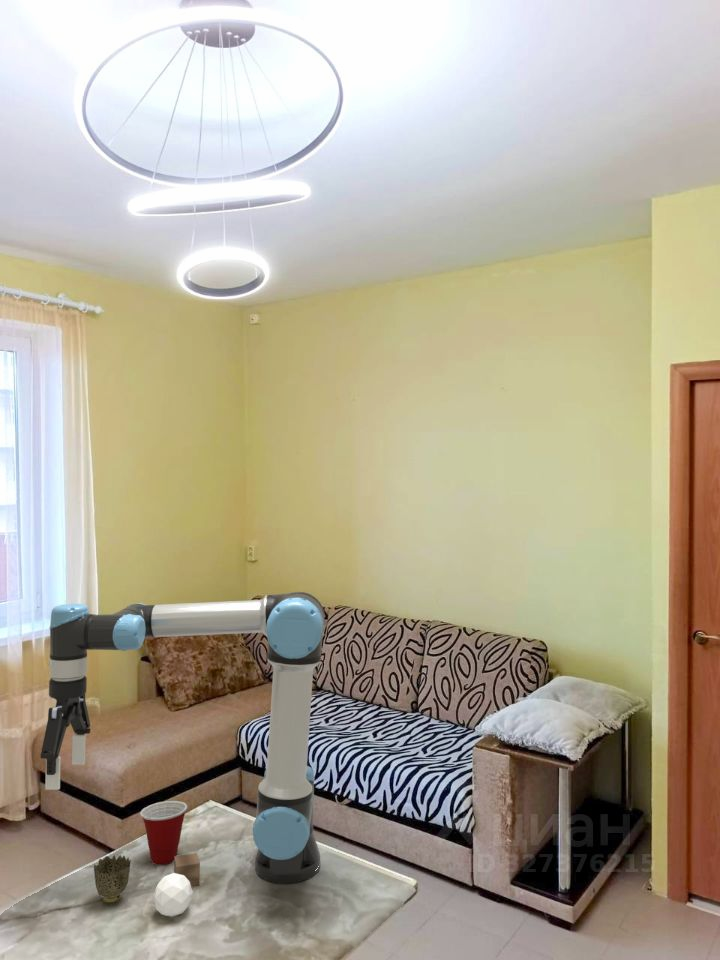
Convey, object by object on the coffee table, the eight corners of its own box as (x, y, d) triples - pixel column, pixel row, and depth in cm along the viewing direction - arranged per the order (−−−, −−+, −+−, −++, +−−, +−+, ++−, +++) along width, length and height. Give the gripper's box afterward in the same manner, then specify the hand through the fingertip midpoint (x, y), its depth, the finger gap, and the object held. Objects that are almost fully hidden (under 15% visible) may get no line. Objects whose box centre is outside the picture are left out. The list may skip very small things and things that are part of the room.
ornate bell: (118, 913, 148) (119, 874, 148) (85, 908, 149) (86, 870, 149) (136, 893, 155) (137, 856, 155) (105, 889, 156) (106, 852, 157)
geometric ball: (178, 920, 150) (200, 882, 153) (176, 928, 143) (198, 887, 146) (148, 901, 150) (170, 863, 154) (143, 908, 143) (167, 868, 146)
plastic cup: (166, 843, 178) (167, 794, 178) (195, 856, 171) (196, 805, 172) (129, 860, 169) (130, 809, 169) (159, 875, 162) (160, 822, 163)
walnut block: (196, 874, 163) (196, 852, 163) (199, 886, 159) (199, 863, 159) (173, 878, 161) (174, 856, 162) (176, 890, 157) (176, 866, 157)
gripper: (73, 663, 167) (72, 754, 166) (23, 692, 142) (21, 800, 141) (105, 663, 167) (104, 755, 166) (61, 692, 142) (59, 800, 141)
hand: (66, 776), depth 154 cm, fingers open, 13 cm apart
